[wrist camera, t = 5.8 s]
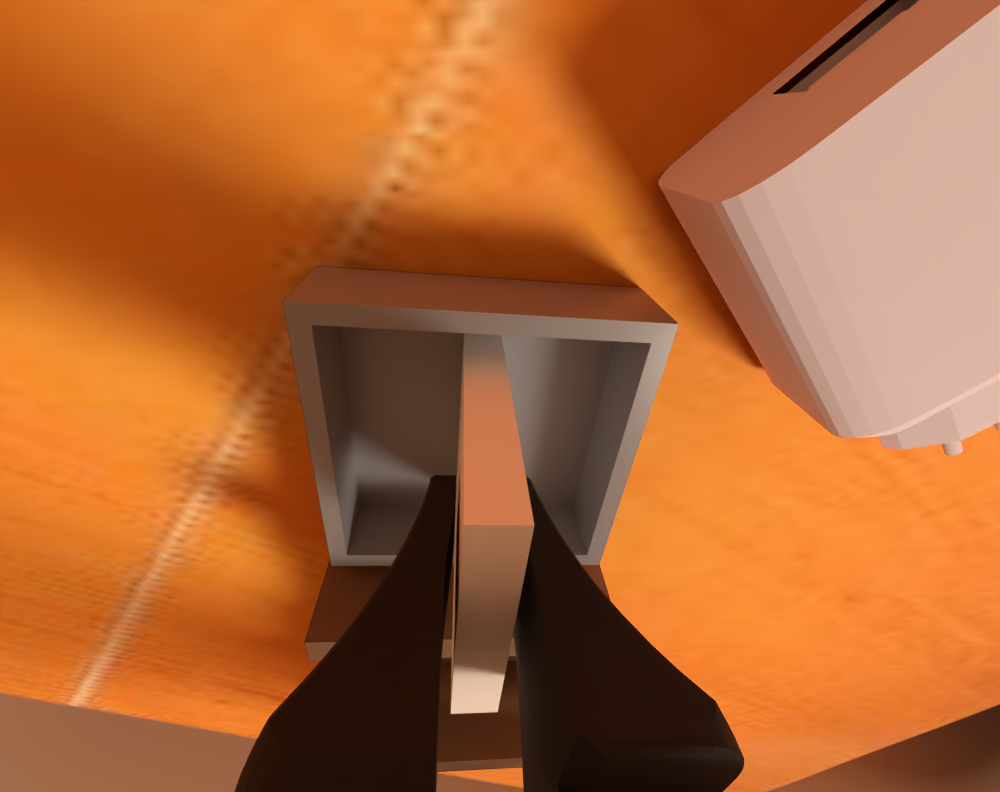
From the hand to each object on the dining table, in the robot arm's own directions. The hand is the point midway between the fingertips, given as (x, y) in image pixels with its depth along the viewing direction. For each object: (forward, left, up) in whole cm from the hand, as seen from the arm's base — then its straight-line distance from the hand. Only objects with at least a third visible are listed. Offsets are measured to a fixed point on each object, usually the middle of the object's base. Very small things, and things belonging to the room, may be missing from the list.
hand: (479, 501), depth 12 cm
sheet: (0, 0, -4) cm, 4 cm away
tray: (0, 0, -5) cm, 5 cm away
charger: (+6, -13, -5) cm, 15 cm away
